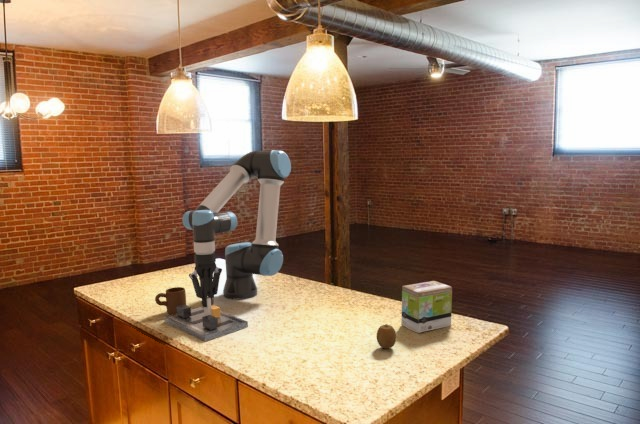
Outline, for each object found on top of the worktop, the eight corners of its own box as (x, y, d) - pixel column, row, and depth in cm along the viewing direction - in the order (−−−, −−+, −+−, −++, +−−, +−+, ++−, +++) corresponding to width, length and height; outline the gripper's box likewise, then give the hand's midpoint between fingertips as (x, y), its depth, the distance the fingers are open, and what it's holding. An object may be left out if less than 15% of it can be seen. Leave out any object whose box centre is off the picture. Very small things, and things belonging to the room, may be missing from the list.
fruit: (383, 354, 145) (382, 329, 144) (373, 346, 151) (372, 322, 150) (400, 350, 148) (400, 325, 147) (389, 343, 154) (389, 319, 153)
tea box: (418, 334, 160) (419, 292, 159) (400, 325, 169) (400, 285, 167) (452, 326, 167) (452, 285, 165) (433, 317, 176) (433, 279, 174)
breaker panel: (205, 310, 191) (205, 296, 190) (248, 326, 171) (247, 311, 170) (164, 322, 178) (163, 307, 177) (204, 341, 158) (203, 325, 158)
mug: (159, 319, 181) (158, 295, 180) (153, 314, 187) (151, 291, 186) (189, 312, 188) (188, 289, 187) (182, 308, 194) (181, 285, 193)
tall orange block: (213, 313, 180) (212, 304, 179) (220, 316, 176) (220, 307, 176) (206, 315, 177) (205, 306, 177) (213, 318, 174) (213, 309, 174)
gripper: (214, 248, 179) (217, 308, 182) (183, 254, 170) (187, 316, 173) (225, 250, 174) (228, 312, 177) (194, 256, 165) (198, 321, 168)
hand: (208, 314), depth 175 cm, fingers closed
